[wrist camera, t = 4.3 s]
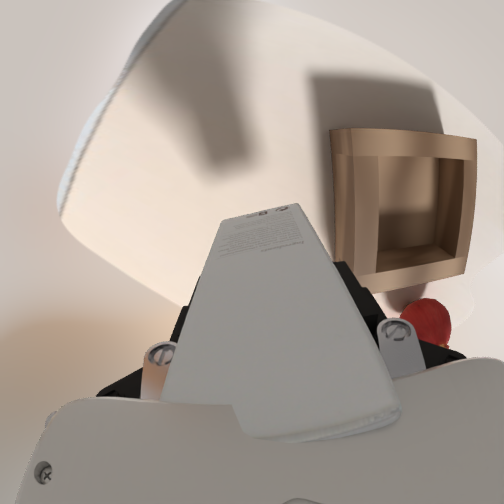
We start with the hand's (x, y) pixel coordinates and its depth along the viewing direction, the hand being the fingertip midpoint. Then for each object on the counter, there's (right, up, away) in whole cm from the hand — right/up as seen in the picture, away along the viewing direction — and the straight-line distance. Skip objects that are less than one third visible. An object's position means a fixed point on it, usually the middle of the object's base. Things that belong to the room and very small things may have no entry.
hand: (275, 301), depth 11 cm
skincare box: (0, +2, +4) cm, 4 cm away
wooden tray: (+12, +7, +9) cm, 16 cm away
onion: (+16, -4, +14) cm, 22 cm away
